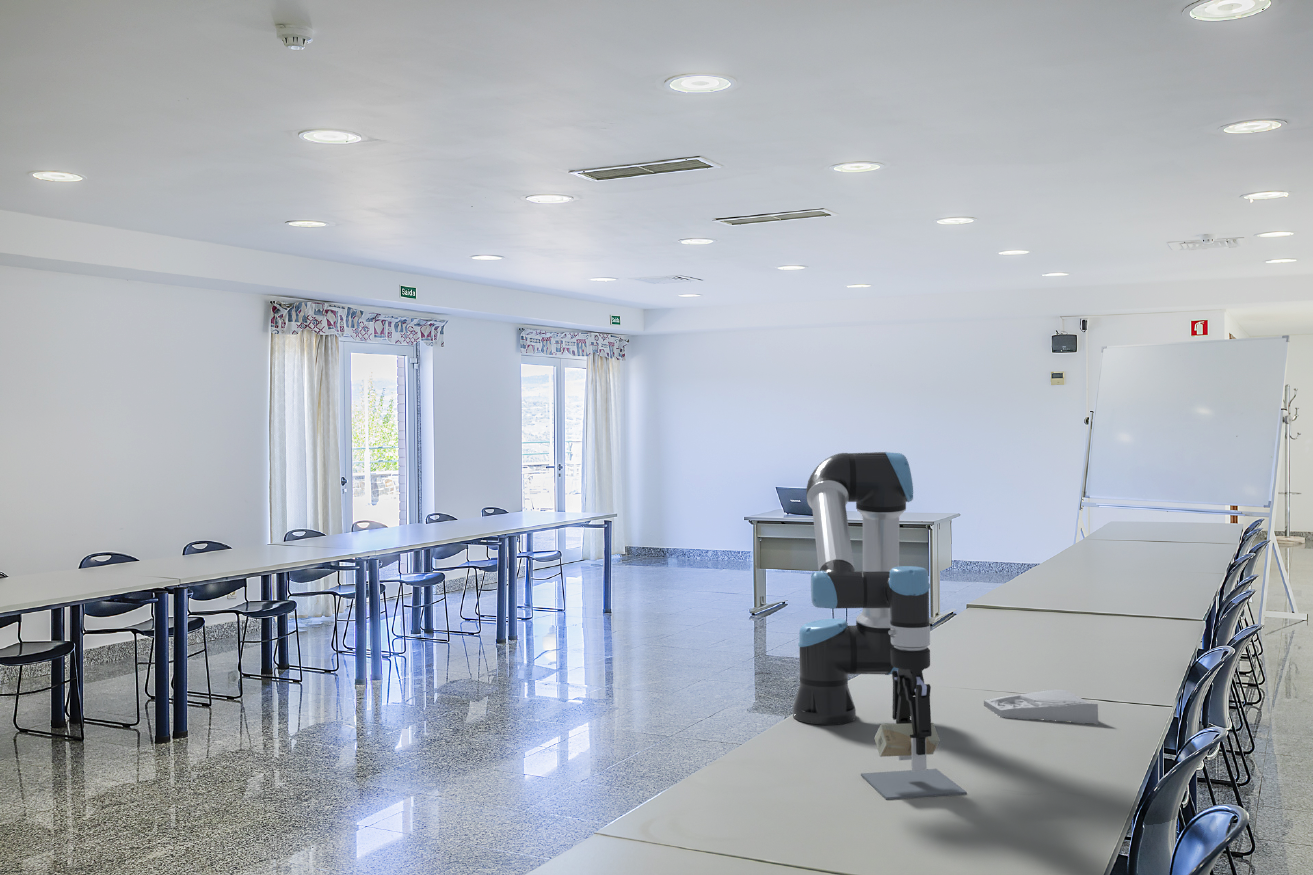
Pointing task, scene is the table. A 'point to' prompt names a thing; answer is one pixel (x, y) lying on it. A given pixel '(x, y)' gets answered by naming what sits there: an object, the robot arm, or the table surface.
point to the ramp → (1045, 707)
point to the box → (901, 740)
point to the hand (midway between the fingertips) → (912, 764)
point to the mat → (912, 784)
